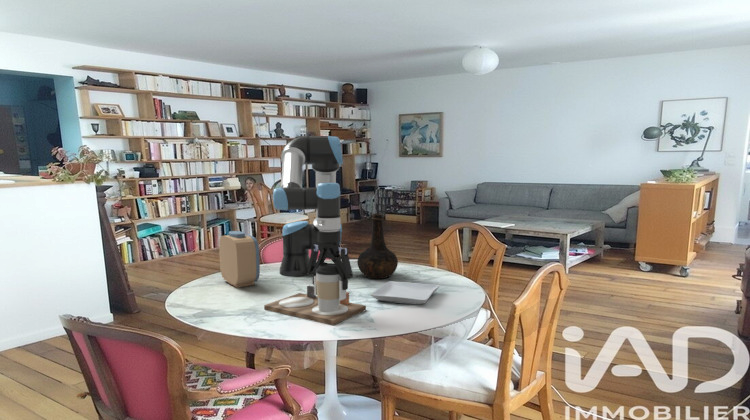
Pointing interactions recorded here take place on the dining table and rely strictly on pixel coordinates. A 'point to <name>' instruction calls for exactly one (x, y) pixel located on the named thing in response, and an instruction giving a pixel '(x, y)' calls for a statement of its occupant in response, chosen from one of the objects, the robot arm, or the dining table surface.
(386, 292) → the salad plate
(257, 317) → the dining table surface
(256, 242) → the alarm clock
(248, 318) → the dining table surface
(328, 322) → the tag board
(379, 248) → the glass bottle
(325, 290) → the coffee cup
